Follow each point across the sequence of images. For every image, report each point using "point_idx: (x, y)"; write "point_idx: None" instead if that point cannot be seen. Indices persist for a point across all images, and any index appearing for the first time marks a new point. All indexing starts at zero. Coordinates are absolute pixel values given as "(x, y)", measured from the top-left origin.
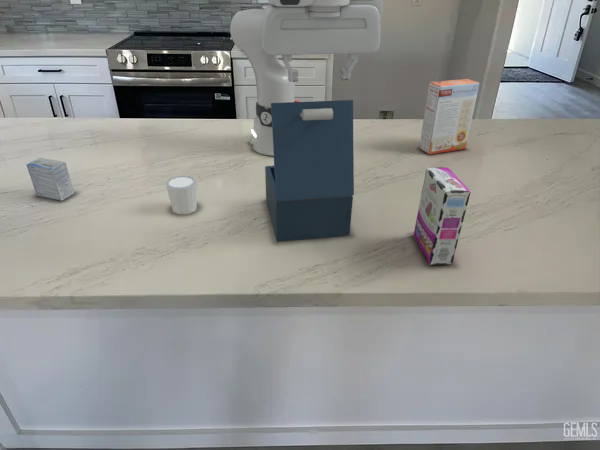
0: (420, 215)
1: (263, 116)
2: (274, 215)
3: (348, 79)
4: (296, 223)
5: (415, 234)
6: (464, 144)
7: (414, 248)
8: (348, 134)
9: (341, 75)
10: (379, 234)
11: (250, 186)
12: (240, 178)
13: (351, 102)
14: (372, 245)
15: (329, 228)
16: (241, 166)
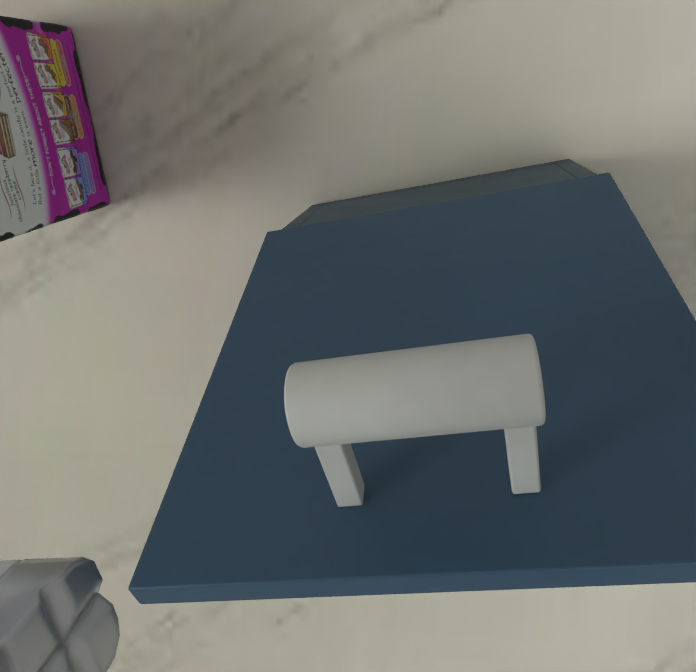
0: (47, 186)
1: None
2: None
3: (14, 561)
4: (503, 180)
5: (98, 188)
6: None
7: (111, 131)
8: (225, 404)
9: (82, 637)
10: (214, 213)
11: None
12: (674, 585)
13: (144, 571)
14: (240, 146)
15: (377, 198)
16: (664, 664)
